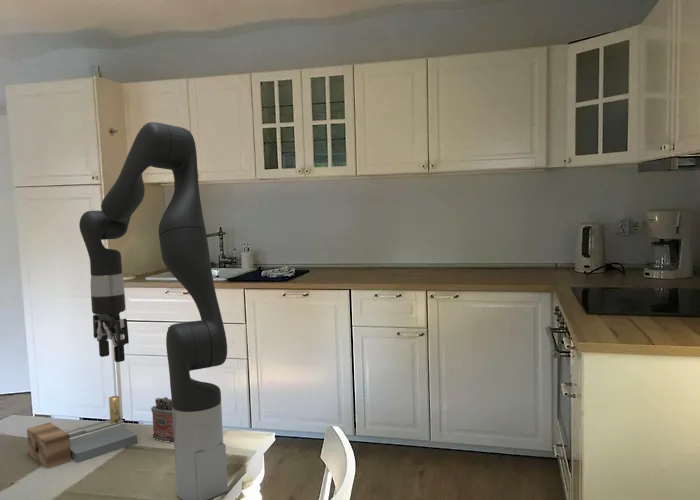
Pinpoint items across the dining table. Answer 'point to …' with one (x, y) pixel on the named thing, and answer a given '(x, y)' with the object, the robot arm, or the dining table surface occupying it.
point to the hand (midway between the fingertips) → (111, 358)
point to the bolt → (114, 415)
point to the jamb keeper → (49, 445)
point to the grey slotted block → (99, 441)
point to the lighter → (163, 419)
